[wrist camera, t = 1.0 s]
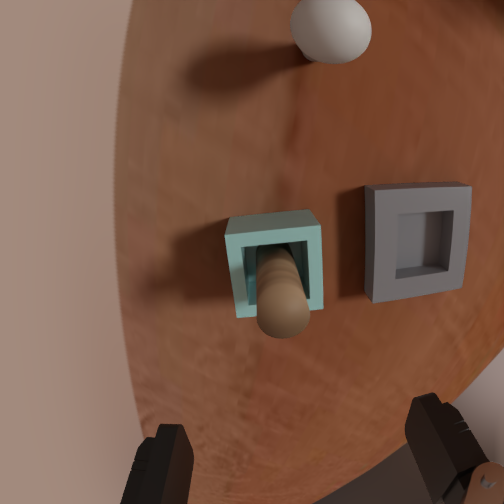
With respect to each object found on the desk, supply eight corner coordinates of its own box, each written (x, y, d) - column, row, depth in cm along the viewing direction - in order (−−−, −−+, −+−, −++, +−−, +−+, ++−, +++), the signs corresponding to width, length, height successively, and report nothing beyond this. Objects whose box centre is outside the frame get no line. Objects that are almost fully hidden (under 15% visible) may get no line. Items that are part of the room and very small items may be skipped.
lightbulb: (310, 92, 28) (338, 70, 18) (268, 46, 26) (276, 4, 16) (355, 59, 26) (399, 29, 16) (314, 15, 25) (341, -33, 15)
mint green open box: (229, 217, 32) (224, 235, 27) (309, 209, 32) (320, 225, 26) (239, 288, 35) (237, 317, 29) (312, 281, 35) (323, 308, 29)
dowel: (253, 238, 32) (253, 296, 21) (290, 235, 32) (309, 290, 21) (257, 272, 33) (259, 340, 22) (292, 268, 33) (310, 335, 22)
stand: (364, 185, 31) (374, 190, 28) (457, 181, 30) (471, 186, 28) (364, 290, 35) (372, 303, 32) (449, 277, 35) (461, 287, 32)
